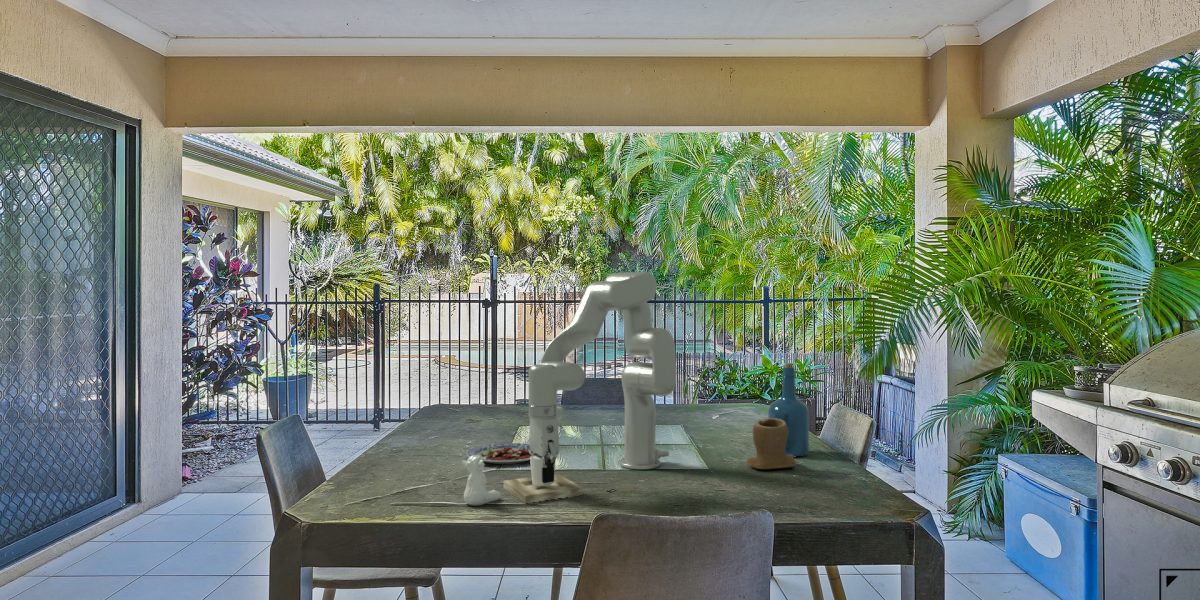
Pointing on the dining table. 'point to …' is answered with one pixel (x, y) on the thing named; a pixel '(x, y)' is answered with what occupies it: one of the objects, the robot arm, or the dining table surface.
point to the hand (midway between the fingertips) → (542, 478)
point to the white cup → (538, 470)
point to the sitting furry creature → (477, 483)
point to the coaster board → (542, 489)
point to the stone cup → (771, 445)
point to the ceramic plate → (502, 453)
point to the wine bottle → (792, 414)
